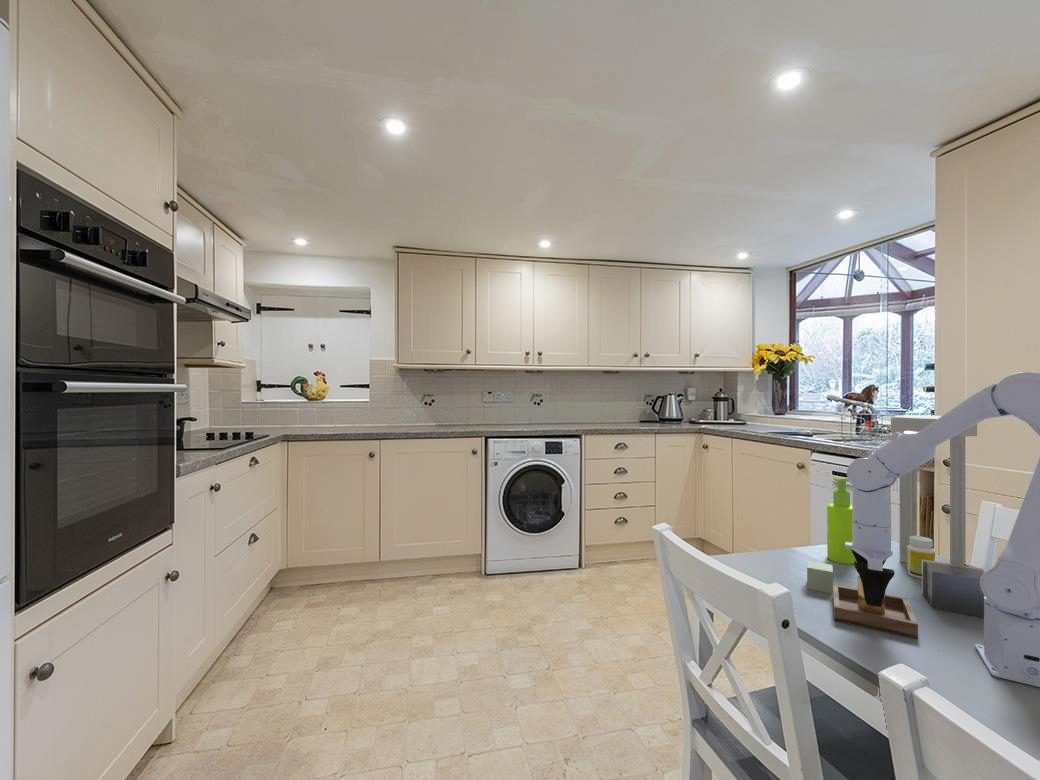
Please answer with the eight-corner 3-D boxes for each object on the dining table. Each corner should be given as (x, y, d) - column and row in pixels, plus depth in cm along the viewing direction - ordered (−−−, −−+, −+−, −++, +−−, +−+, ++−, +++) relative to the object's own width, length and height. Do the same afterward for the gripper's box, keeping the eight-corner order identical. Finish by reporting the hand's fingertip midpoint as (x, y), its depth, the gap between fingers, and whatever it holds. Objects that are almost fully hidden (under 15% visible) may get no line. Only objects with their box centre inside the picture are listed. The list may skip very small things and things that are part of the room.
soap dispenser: (866, 564, 111) (866, 480, 111) (834, 563, 112) (834, 479, 112) (853, 556, 117) (852, 476, 117) (822, 554, 118) (822, 475, 118)
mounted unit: (994, 620, 85) (994, 581, 85) (928, 607, 90) (928, 570, 90) (981, 604, 91) (981, 567, 91) (921, 593, 96) (921, 558, 96)
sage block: (832, 593, 96) (832, 571, 96) (807, 588, 98) (807, 567, 98) (832, 586, 100) (832, 564, 100) (807, 581, 102) (807, 560, 102)
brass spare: (886, 619, 84) (886, 586, 84) (858, 614, 86) (858, 581, 86) (883, 611, 87) (883, 578, 87) (857, 605, 89) (856, 574, 89)
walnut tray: (918, 639, 78) (918, 624, 78) (834, 620, 84) (834, 606, 84) (907, 611, 88) (907, 598, 88) (832, 596, 94) (832, 584, 94)
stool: (887, 561, 114) (887, 416, 113) (896, 546, 124) (896, 414, 124) (976, 579, 103) (976, 419, 103) (977, 561, 114) (977, 416, 114)
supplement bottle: (940, 581, 102) (940, 542, 102) (915, 579, 103) (915, 541, 103) (926, 572, 107) (926, 535, 107) (902, 571, 108) (902, 534, 108)
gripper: (843, 511, 94) (843, 578, 94) (846, 529, 82) (846, 606, 82) (887, 516, 91) (887, 586, 91) (898, 536, 78) (898, 617, 78)
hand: (871, 597), depth 86 cm, fingers open, 7 cm apart
